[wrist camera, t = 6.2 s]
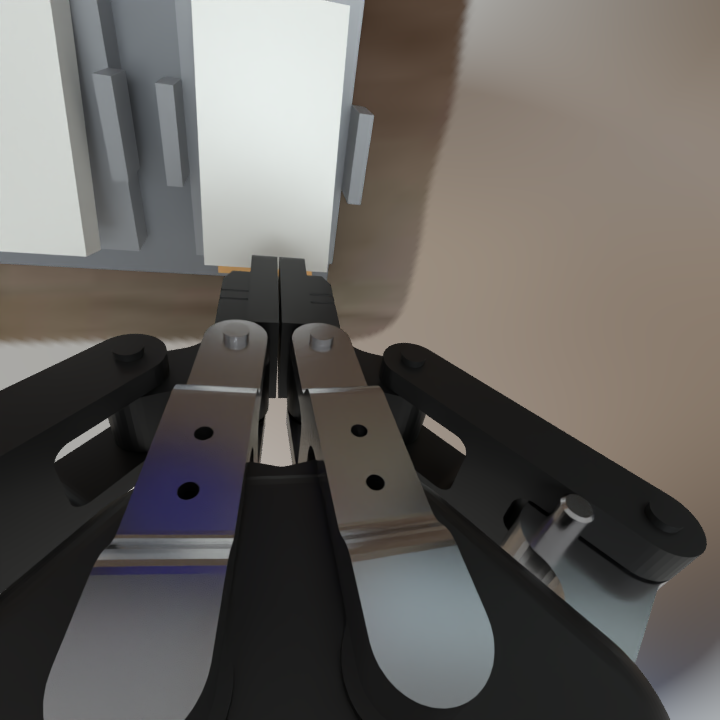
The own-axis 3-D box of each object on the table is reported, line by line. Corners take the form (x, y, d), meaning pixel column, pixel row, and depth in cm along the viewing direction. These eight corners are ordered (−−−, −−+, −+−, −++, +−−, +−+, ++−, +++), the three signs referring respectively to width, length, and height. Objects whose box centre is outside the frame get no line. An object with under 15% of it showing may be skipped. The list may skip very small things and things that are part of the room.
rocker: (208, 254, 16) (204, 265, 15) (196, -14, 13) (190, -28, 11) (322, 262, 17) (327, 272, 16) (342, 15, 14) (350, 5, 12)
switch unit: (-184, 241, 17) (-285, 292, 14) (-541, -307, 10) (-945, -467, 6) (332, 272, 22) (343, 316, 19) (375, -73, 14) (406, -98, 11)
